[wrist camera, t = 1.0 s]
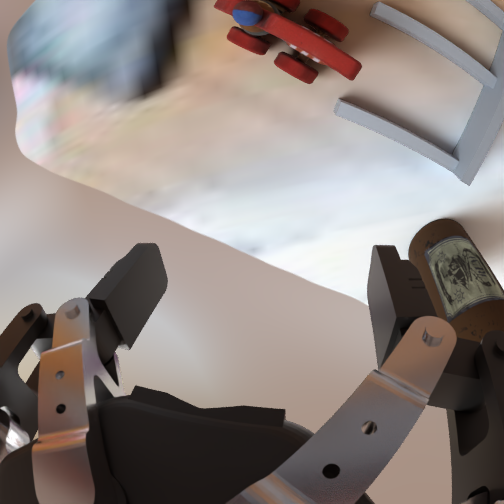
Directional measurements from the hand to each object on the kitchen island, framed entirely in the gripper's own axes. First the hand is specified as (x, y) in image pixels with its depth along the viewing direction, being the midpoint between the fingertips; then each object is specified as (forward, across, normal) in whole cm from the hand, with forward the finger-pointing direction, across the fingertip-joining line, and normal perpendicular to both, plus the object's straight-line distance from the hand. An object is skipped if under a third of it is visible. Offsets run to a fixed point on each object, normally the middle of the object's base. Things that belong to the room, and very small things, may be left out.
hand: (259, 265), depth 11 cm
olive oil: (+26, -20, +14) cm, 35 cm away
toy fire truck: (+22, 0, -12) cm, 25 cm away
